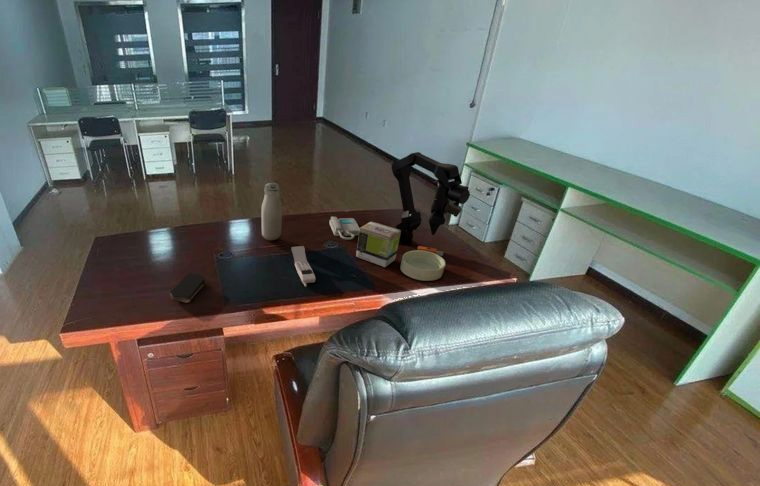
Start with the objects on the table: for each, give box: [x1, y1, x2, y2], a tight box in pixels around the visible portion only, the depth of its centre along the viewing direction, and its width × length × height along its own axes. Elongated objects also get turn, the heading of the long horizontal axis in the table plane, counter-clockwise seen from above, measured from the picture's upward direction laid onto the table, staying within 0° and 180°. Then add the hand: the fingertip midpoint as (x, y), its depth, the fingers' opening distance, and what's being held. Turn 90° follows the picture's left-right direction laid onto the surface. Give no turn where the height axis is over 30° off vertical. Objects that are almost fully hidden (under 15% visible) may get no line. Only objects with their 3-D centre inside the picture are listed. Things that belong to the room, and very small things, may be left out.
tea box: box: [355, 221, 401, 268], centre depth 175 cm, size 15×10×15 cm
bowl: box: [399, 249, 446, 282], centre depth 168 cm, size 17×17×6 cm
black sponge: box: [169, 272, 206, 304], centre depth 158 cm, size 16×8×4 cm, turn 160°
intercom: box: [329, 216, 361, 241], centre depth 200 cm, size 13×4×25 cm
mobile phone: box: [290, 245, 317, 288], centre depth 169 cm, size 6×6×25 cm
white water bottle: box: [260, 182, 283, 241], centre depth 188 cm, size 10×10×28 cm
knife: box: [417, 245, 444, 257], centre depth 181 cm, size 11×3×3 cm, turn 67°
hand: (433, 230), depth 175 cm, fingers open, 9 cm apart
